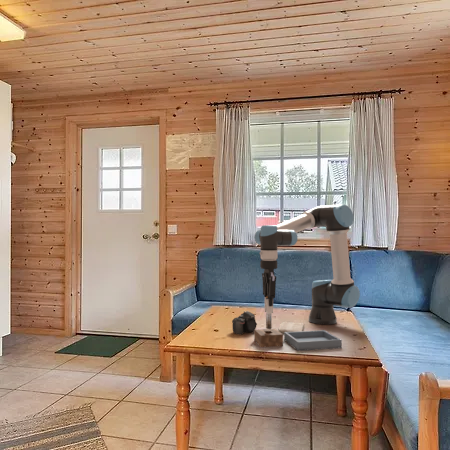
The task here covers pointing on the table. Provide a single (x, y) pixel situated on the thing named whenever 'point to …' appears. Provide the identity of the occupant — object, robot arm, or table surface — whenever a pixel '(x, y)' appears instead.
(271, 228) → the robot arm
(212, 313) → the table surface
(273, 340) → the block
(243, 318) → the camera
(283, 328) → the washcloth
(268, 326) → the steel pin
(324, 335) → the tray
